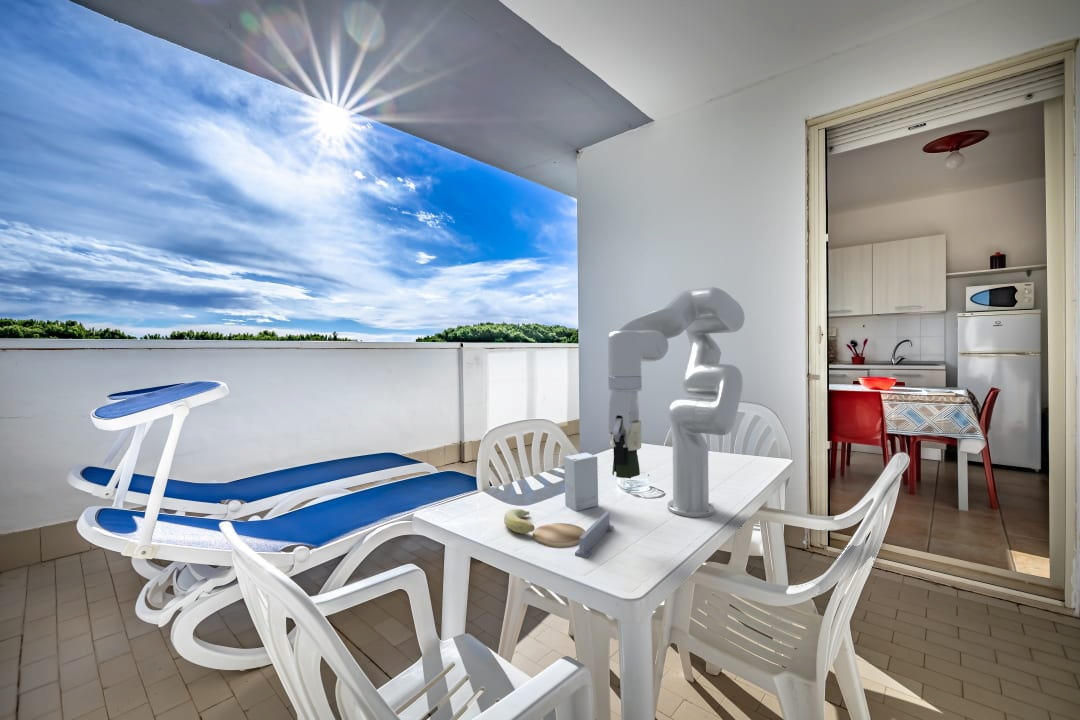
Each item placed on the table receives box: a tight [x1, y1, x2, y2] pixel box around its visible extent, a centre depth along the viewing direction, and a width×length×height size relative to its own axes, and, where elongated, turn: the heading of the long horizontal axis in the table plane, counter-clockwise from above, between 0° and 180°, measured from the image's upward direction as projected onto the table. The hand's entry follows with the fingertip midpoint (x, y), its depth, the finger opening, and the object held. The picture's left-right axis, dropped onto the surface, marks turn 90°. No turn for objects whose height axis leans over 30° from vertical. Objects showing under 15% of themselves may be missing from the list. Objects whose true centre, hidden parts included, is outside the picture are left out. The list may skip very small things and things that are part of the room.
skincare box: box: [563, 452, 599, 512], centre depth 131 cm, size 8×6×15 cm
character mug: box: [609, 419, 642, 479], centre depth 104 cm, size 11×7×13 cm, turn 25°
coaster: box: [532, 522, 586, 548], centre depth 110 cm, size 13×13×1 cm
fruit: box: [503, 508, 536, 535], centre depth 116 cm, size 7×15×3 cm, turn 7°
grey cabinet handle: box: [574, 511, 615, 559], centre depth 107 cm, size 18×3×4 cm, turn 153°
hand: (625, 460), depth 104 cm, fingers closed on character mug, 7 cm apart
